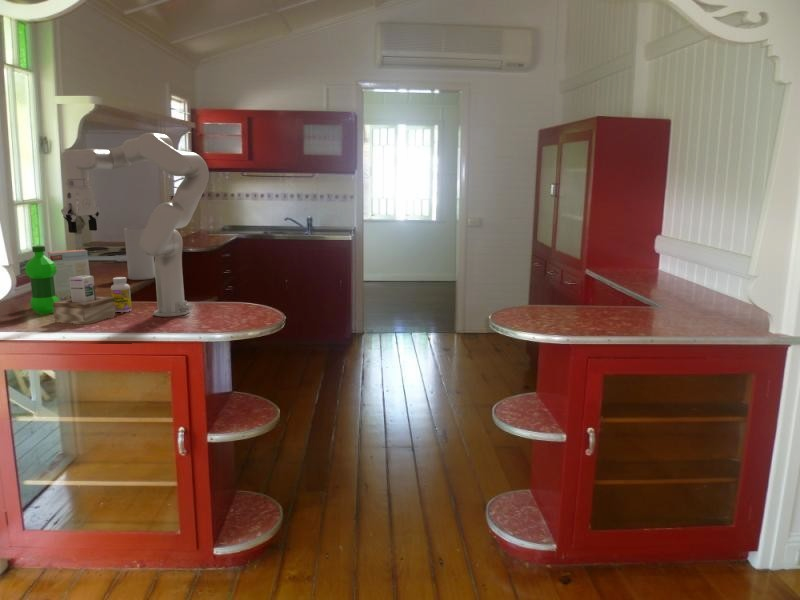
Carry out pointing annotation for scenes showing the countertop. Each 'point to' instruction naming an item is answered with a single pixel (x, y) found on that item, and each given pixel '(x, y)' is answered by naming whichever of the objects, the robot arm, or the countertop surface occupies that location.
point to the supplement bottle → (121, 295)
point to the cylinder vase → (137, 256)
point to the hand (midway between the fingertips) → (83, 231)
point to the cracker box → (68, 270)
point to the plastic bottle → (41, 281)
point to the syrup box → (82, 289)
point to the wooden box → (84, 310)
